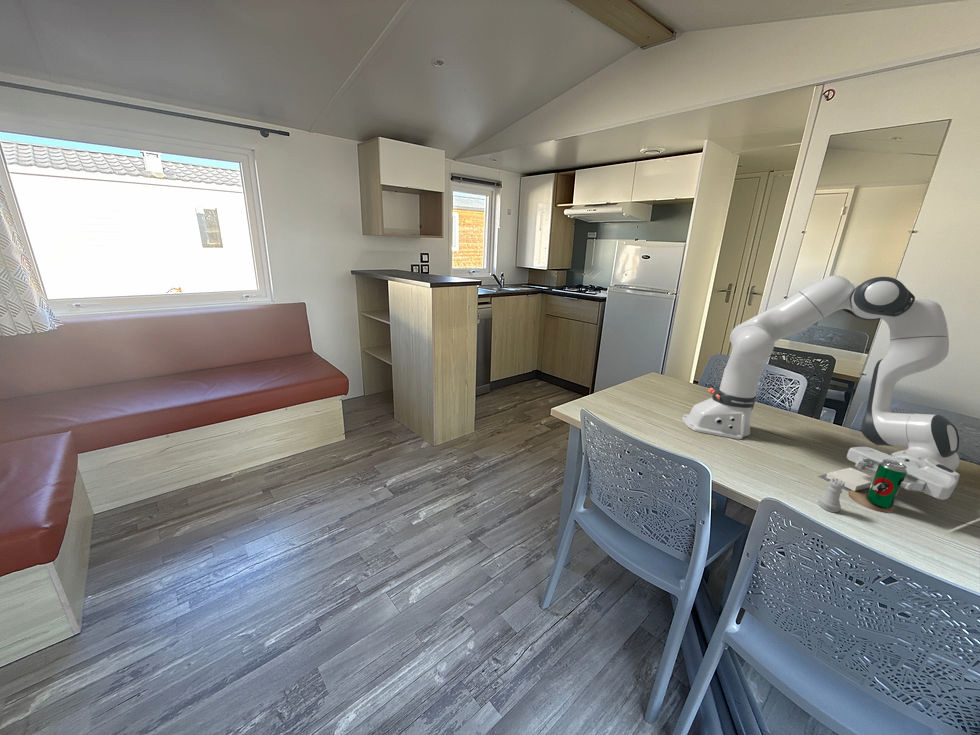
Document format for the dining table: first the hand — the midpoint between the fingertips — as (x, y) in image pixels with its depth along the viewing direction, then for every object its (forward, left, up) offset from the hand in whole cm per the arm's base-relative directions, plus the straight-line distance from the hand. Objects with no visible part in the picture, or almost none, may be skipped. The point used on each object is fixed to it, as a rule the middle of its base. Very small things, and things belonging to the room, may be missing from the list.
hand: (880, 475), depth 99 cm
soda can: (+1, -1, -8) cm, 8 cm away
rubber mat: (+3, +10, -9) cm, 14 cm away
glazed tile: (+7, +12, -7) cm, 16 cm away
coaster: (+1, 0, -9) cm, 9 cm away
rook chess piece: (-12, -5, -9) cm, 16 cm away
